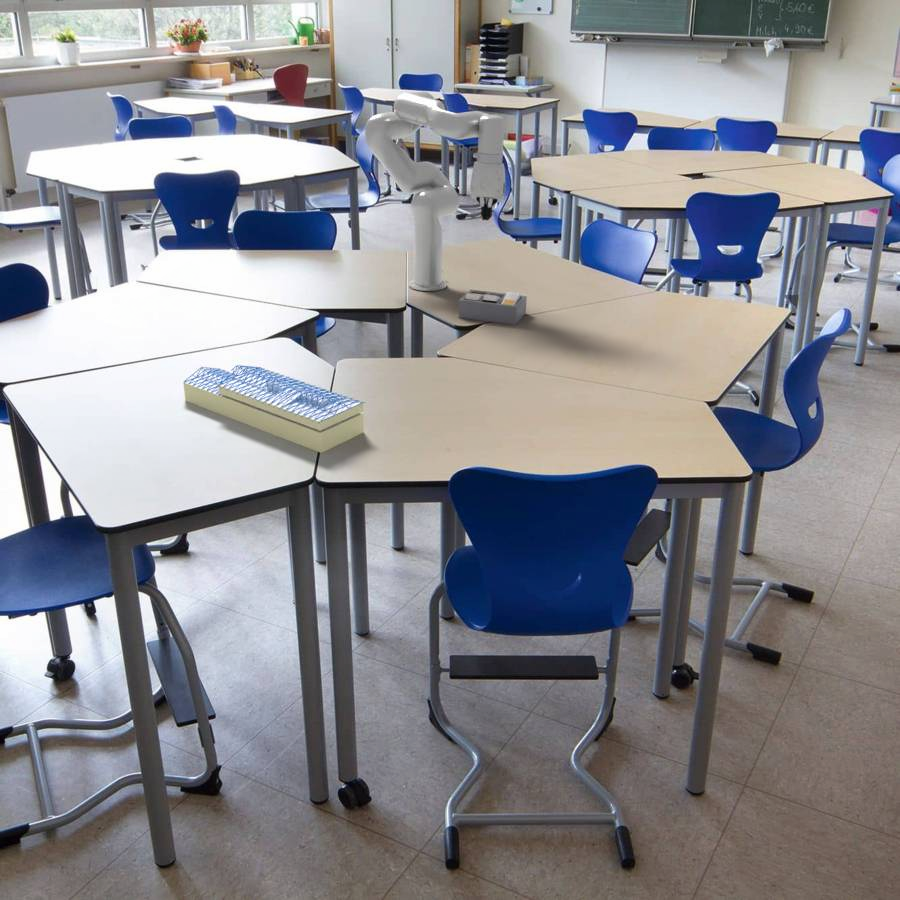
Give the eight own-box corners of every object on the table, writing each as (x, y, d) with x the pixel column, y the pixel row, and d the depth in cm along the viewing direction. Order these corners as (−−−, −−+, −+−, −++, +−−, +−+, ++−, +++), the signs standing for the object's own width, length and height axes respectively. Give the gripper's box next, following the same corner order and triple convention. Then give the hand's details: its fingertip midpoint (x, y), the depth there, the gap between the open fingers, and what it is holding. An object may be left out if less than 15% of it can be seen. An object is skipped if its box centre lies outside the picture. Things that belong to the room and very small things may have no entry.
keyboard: (365, 433, 222) (364, 391, 218) (319, 455, 211) (317, 411, 207) (230, 385, 246) (227, 346, 242) (183, 402, 235) (179, 362, 231)
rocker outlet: (507, 296, 301) (507, 291, 300) (520, 297, 300) (520, 292, 299) (500, 309, 295) (500, 304, 294) (513, 311, 294) (513, 306, 293)
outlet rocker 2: (489, 302, 303) (490, 296, 303) (502, 303, 302) (503, 297, 302) (483, 299, 296) (484, 294, 295) (495, 301, 294) (496, 295, 294)
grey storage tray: (470, 306, 308) (470, 289, 306) (525, 313, 304) (526, 296, 301) (458, 317, 298) (459, 300, 296) (515, 324, 293) (516, 307, 291)
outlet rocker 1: (473, 298, 305) (473, 293, 304) (485, 300, 304) (486, 294, 303) (465, 299, 297) (466, 293, 297) (478, 300, 296) (478, 294, 296)
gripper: (462, 157, 294) (459, 218, 302) (510, 163, 290) (505, 224, 298) (470, 154, 300) (467, 213, 308) (517, 159, 296) (512, 219, 304)
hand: (486, 219), depth 303 cm, fingers closed
